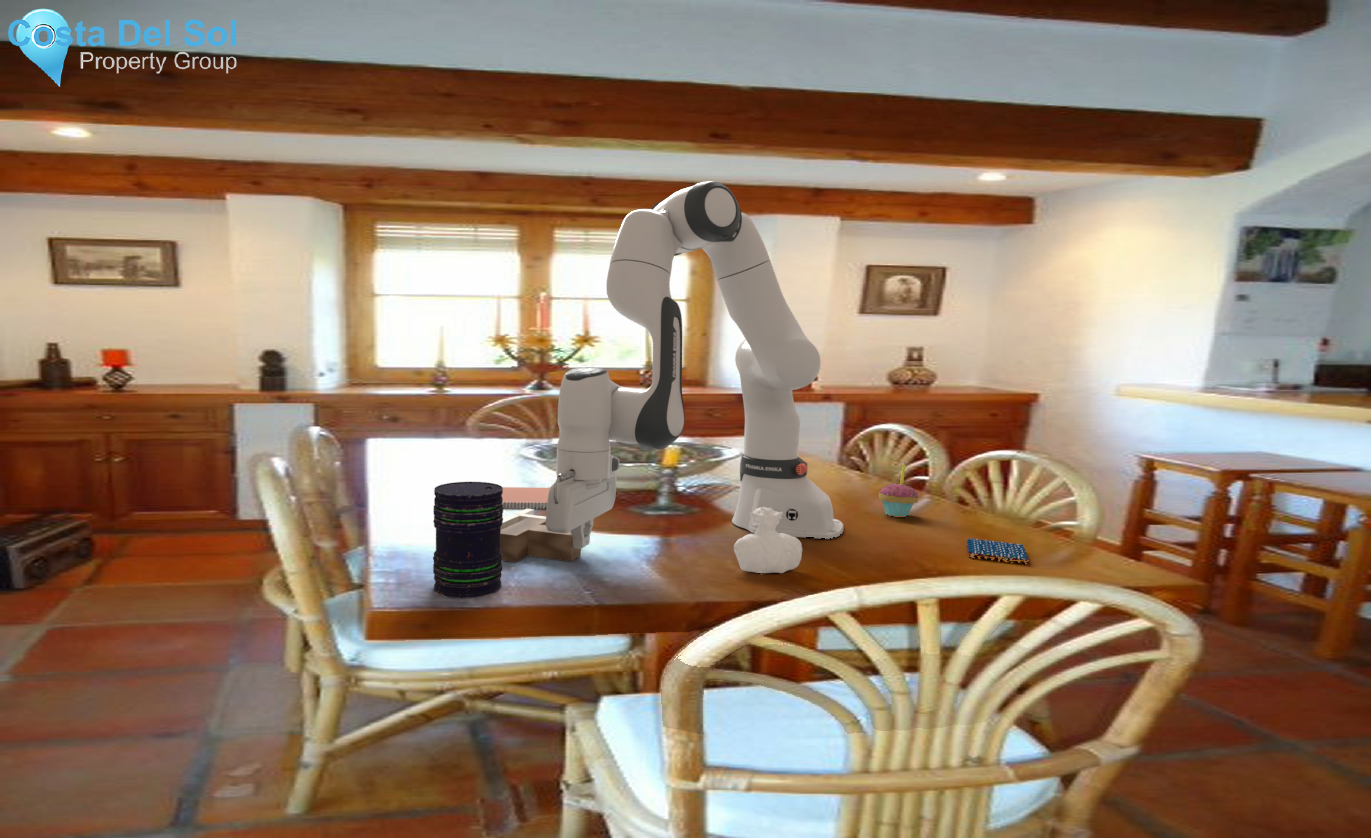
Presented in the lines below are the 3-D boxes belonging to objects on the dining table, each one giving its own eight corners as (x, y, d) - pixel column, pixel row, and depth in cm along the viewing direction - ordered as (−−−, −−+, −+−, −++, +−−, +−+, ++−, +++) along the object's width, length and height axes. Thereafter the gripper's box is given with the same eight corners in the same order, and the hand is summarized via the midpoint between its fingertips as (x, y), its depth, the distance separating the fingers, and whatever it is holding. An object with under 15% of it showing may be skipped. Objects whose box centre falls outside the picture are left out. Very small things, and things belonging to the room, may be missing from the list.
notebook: (476, 511, 165) (476, 502, 165) (484, 494, 182) (484, 485, 182) (606, 512, 169) (606, 503, 169) (603, 495, 186) (603, 487, 186)
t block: (590, 549, 139) (590, 524, 139) (560, 568, 128) (561, 541, 127) (528, 541, 143) (529, 517, 142) (494, 559, 131) (494, 532, 131)
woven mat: (1030, 569, 140) (1031, 557, 140) (967, 561, 143) (968, 550, 143) (1024, 553, 150) (1025, 543, 150) (965, 546, 153) (966, 536, 153)
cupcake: (886, 509, 181) (890, 457, 179) (922, 515, 176) (926, 462, 175) (871, 515, 174) (875, 461, 173) (909, 522, 169) (913, 467, 168)
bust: (797, 579, 134) (785, 518, 140) (814, 563, 128) (800, 500, 133) (730, 583, 131) (720, 520, 136) (744, 566, 125) (732, 501, 130)
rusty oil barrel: (436, 601, 111) (437, 497, 109) (429, 580, 120) (429, 483, 118) (508, 594, 115) (509, 493, 113) (496, 574, 124) (497, 480, 122)
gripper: (573, 477, 121) (571, 565, 122) (623, 458, 140) (620, 534, 142) (536, 474, 122) (534, 560, 124) (590, 455, 142) (588, 530, 144)
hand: (581, 546), depth 133 cm, fingers closed, pressing on t block
